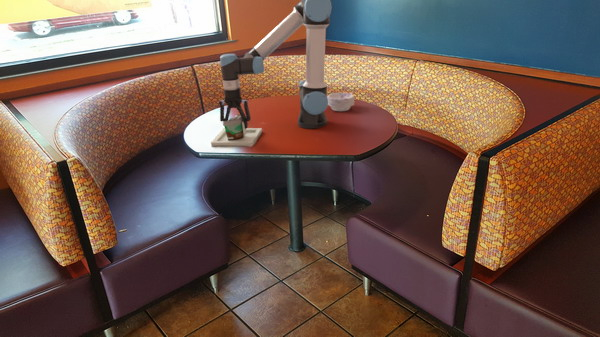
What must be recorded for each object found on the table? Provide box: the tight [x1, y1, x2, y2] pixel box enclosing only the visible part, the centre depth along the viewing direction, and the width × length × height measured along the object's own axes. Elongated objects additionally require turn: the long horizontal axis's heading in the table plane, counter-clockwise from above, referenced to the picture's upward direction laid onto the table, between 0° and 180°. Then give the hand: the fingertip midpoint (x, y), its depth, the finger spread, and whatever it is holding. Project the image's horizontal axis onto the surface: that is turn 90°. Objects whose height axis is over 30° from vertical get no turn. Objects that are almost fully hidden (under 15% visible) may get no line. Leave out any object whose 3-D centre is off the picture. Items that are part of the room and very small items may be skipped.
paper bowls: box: [327, 92, 355, 112], centre depth 254 cm, size 15×15×8 cm
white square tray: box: [210, 127, 263, 148], centre depth 219 cm, size 20×20×2 cm
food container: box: [222, 113, 244, 141], centre depth 217 cm, size 12×6×10 cm, turn 151°
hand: (237, 134), depth 219 cm, fingers closed on food container, 7 cm apart
